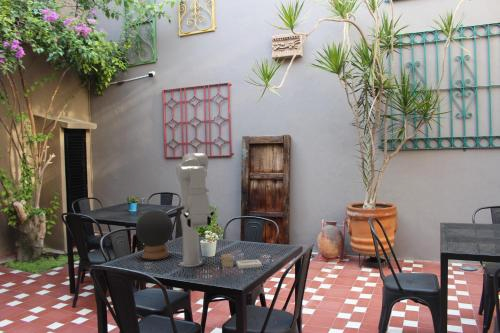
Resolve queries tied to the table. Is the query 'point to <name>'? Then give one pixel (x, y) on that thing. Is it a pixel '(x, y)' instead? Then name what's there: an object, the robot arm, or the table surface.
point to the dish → (248, 264)
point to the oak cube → (227, 260)
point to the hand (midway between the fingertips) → (199, 226)
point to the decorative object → (154, 234)
